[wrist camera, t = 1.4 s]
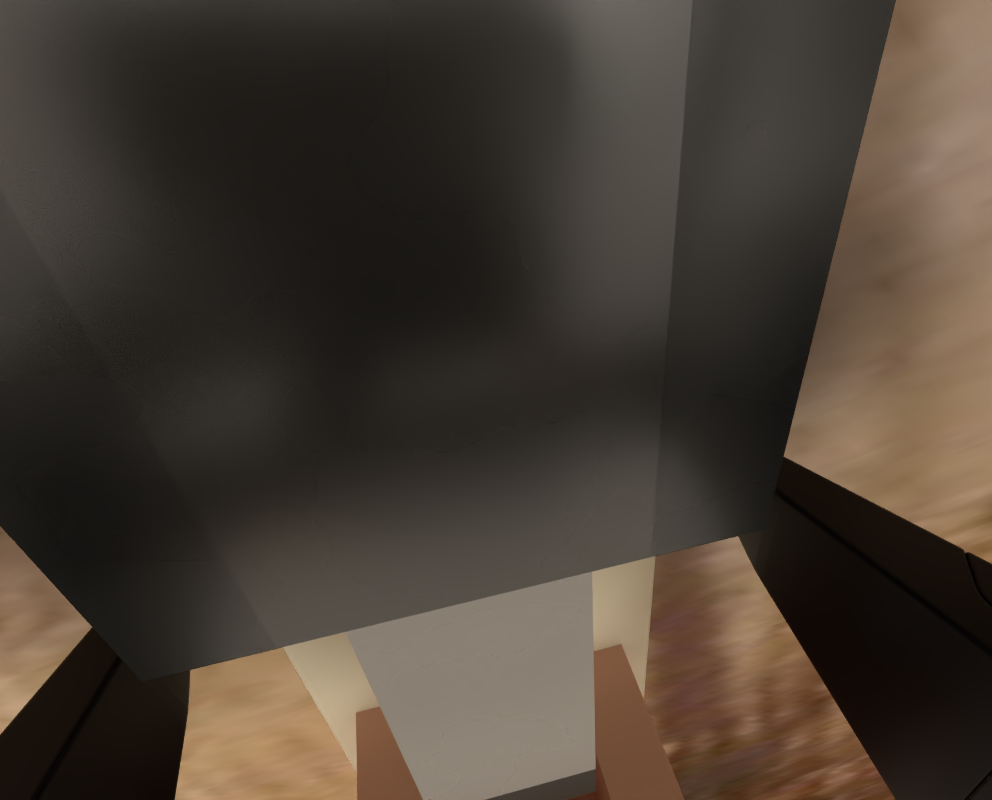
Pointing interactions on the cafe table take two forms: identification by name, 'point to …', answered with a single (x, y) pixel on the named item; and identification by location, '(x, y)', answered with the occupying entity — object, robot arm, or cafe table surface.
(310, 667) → the base board
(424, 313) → the grey sleeve
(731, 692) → the cafe table surface
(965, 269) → the cafe table surface
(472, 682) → the silver rectangular bar
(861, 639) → the robot arm
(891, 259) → the cafe table surface
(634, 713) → the terracotta socket
